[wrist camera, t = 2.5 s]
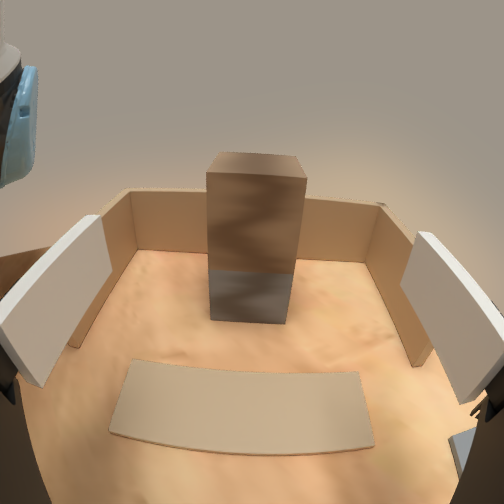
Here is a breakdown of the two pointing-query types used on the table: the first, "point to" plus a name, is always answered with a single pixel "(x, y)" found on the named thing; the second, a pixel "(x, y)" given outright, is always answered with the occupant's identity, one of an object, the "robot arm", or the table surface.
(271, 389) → the cardboard walls
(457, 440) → the mat
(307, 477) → the table surface
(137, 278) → the table surface
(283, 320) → the reflective metal box
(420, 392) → the table surface
